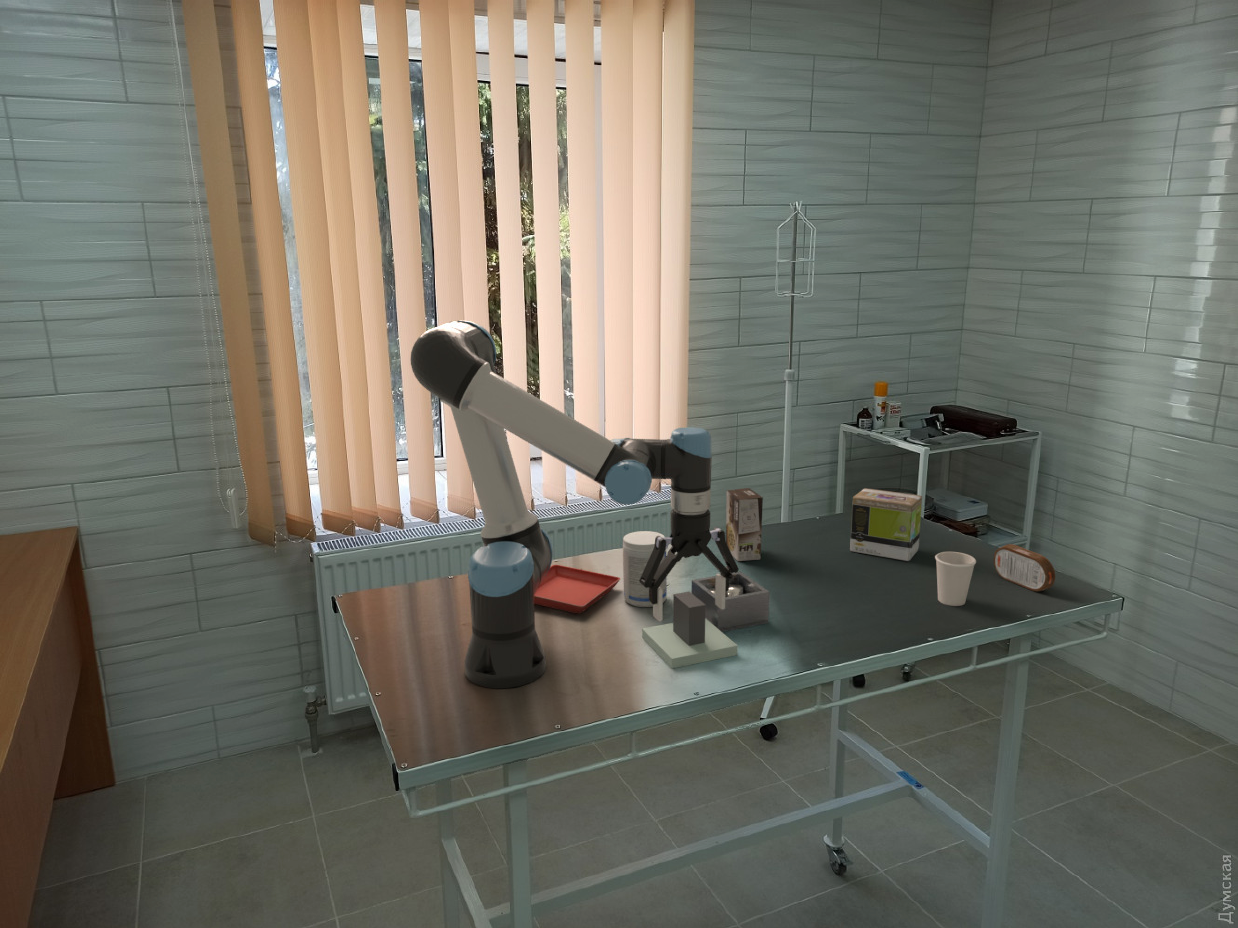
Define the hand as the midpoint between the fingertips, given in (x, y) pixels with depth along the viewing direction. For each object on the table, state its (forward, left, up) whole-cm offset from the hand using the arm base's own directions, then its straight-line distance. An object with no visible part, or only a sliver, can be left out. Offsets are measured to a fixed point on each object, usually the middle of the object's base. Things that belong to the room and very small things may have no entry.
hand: (689, 612), depth 175 cm
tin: (+84, -2, -7) cm, 84 cm away
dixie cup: (+63, -3, -7) cm, 64 cm away
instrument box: (+14, +9, -7) cm, 18 cm away
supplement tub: (+1, +24, -7) cm, 25 cm away
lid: (0, 0, -7) cm, 7 cm away
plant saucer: (-14, +33, -8) cm, 37 cm away
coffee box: (+35, +40, -7) cm, 54 cm away
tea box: (+69, +28, -7) cm, 75 cm away
